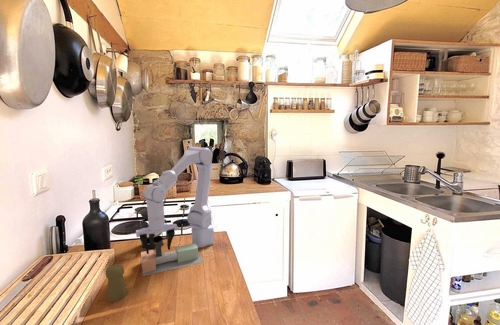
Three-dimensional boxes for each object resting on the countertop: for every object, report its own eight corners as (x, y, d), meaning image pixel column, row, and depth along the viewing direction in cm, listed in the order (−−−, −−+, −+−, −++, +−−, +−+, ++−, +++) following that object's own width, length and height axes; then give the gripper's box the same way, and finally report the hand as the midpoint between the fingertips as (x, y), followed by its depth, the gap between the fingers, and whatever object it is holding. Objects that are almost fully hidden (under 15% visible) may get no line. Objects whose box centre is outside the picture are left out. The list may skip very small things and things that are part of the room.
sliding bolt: (182, 255, 109) (182, 238, 108) (184, 258, 106) (183, 241, 105) (147, 262, 103) (145, 244, 102) (147, 266, 101) (146, 248, 99)
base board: (196, 250, 116) (195, 248, 116) (203, 264, 105) (203, 261, 105) (140, 262, 107) (140, 260, 106) (142, 278, 96) (142, 276, 96)
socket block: (153, 259, 107) (153, 249, 106) (156, 269, 100) (155, 259, 99) (141, 262, 105) (140, 252, 104) (143, 272, 98) (142, 261, 97)
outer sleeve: (195, 253, 112) (195, 243, 111) (198, 258, 108) (198, 247, 107) (176, 257, 108) (175, 247, 108) (178, 262, 105) (177, 252, 104)
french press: (138, 253, 114) (134, 201, 110) (140, 243, 123) (136, 195, 119) (167, 249, 117) (164, 198, 114) (167, 240, 126) (164, 192, 122)
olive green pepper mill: (122, 289, 90) (119, 259, 88) (131, 297, 86) (128, 265, 84) (103, 299, 85) (100, 267, 83) (112, 307, 81) (108, 274, 79)
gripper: (135, 223, 94) (138, 259, 96) (177, 217, 100) (179, 251, 102) (134, 217, 100) (137, 251, 103) (174, 211, 106) (176, 243, 109)
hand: (158, 250), depth 103 cm, fingers open, 7 cm apart
